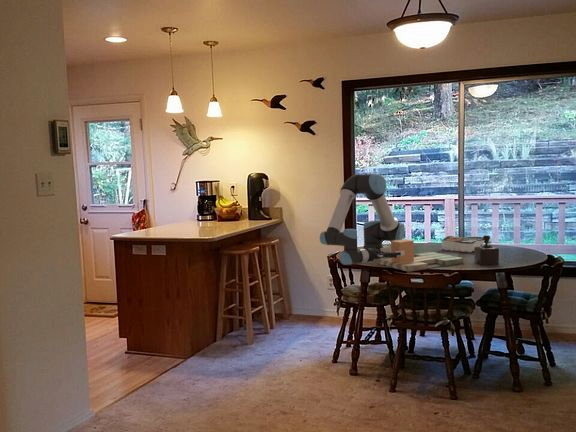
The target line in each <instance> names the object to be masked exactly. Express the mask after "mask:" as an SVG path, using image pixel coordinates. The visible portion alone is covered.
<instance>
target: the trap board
mask: <svg viewBox="0 0 576 432" xmlns="http://www.w3.org/2000/svg"><path fill="white" fill-rule="evenodd" d="M380 264H382V265H381V266H384V265H386V266H385V267H388V266H389V267H388V268H392V269H396V270H401V271H405V272H409V273H410V272H416V271H422V270H430V269H435V268H441V267H448V266H454V265H460V264H464V258H463V257H460V256H454V255H449V254H445V253H439V252H434V251H428V252H426V251H425V252H419V253H414V261H412V262H405V263H397V262H392V261H391V258H378V265H380Z"/></svg>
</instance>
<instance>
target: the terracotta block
mask: <svg viewBox="0 0 576 432" xmlns="http://www.w3.org/2000/svg"><path fill="white" fill-rule="evenodd" d="M414 247H415V244H414V240H412V239H405V238H403V239H402V240H394V241H390V252H395V251H403V250H404V251H405V255H403V256H397V257H396V258H395V257H392V258H391V261H392V262H397V263H405V262H412V261H414V254H415V253H414V252H415V250H414V249H415V248H414Z"/></svg>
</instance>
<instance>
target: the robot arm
mask: <svg viewBox="0 0 576 432" xmlns="http://www.w3.org/2000/svg"><path fill="white" fill-rule="evenodd" d="M386 190H387V181H386V178H385V177H384V176H383V175H382V174H379V173H364V174H363V173H361V174H360V173H357V174H353V175H352V176H350V177H349V178H348V179H346V180H345V182H344V183H343V185H342V186H341V187H340V189H339V198H338V200H337V203H336V205H335V207H334V211H333V214H332V215H331V218H330V221H329V224H328V226H327V229H326V230H325V231H324V230H323V231H321V233H320V235H319V242H320V243H321V245H326V246H340V247H343V251H341V252H340V253H339V261H340V263H341V264H342V265H344V266H347V265H355V264H363V263H368V262H369V263H370V262H374V261H375V259H384V258H392V257H395V258H396V257H397V256H403V255H405V251H404V250H403V251H395V252H391V246H390V247H384V245H383V242H384V241H385V242H391V241H394V240H402V239H404V237H405V230H406V228H405V224H404V223H403V222H399V219H397V217H394V215H393V212H392V210H391V208H390V205H389V203H388V201H387V198H386V196H385V193H386ZM357 195H364V196H365V197H366V199H368V200H370V202H371V205H372V206H373V209H374V210H375V213H376V215H377V217H378V219H375V220H369V221H365V222H363V248H360V249H358V248H359V247H358V231H357V229H356V228H346V229H345V228H344V229H343V226H344V223H345V221H346V219H347V218H346V217H347V215H348V212H349V210H350V207H351V204H352V202H353V200H355V198H356V196H357ZM342 229H343V231H342Z"/></svg>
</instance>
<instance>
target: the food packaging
mask: <svg viewBox="0 0 576 432" xmlns="http://www.w3.org/2000/svg"><path fill="white" fill-rule="evenodd" d="M438 241H441V244H442V248H443V250H444V251H449V252H450V251H452V252H461V253H462V252H463V253H465V252H467V253H473V252H474V247H478V246H481V245H483V244H485V243H484V239H483V236H453V235H449V236H448V235H447V236H446V237H444V238H443V239H441V240H440V239H439V240H438ZM472 251H473V252H472Z"/></svg>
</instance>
